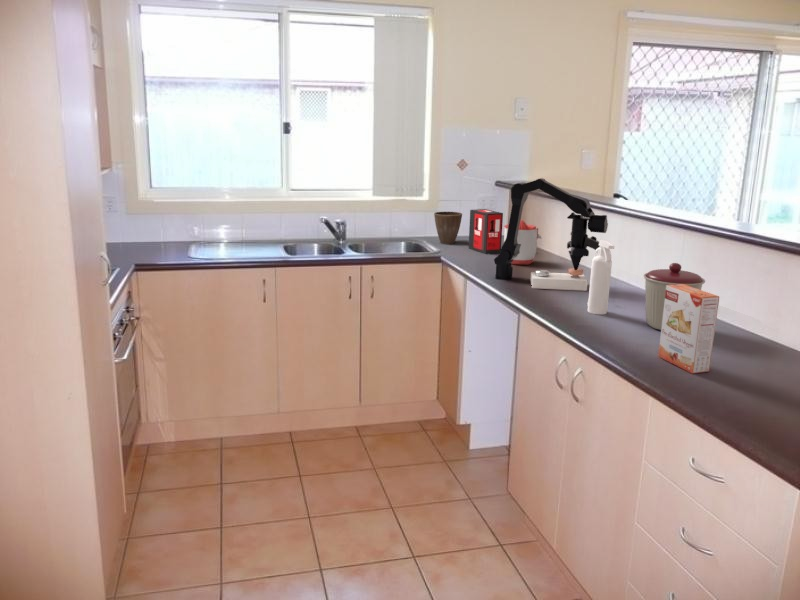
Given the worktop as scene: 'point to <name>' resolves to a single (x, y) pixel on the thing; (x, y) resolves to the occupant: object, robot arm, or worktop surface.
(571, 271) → the terracotta plug
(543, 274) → the plug
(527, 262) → the citrus juicer
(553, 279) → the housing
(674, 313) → the cracker box
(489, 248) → the cleaning product box
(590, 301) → the white spray bottle
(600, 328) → the worktop surface
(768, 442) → the worktop surface
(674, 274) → the canister
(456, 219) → the plant pot
